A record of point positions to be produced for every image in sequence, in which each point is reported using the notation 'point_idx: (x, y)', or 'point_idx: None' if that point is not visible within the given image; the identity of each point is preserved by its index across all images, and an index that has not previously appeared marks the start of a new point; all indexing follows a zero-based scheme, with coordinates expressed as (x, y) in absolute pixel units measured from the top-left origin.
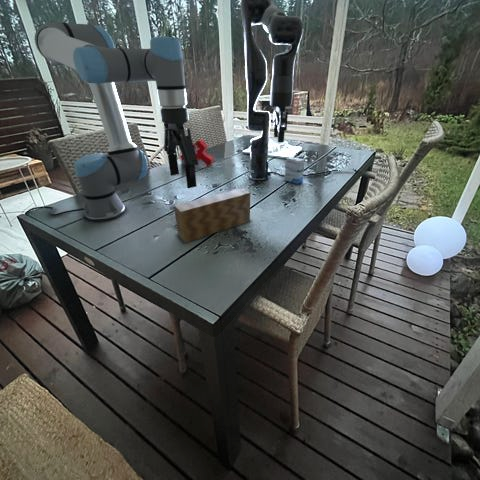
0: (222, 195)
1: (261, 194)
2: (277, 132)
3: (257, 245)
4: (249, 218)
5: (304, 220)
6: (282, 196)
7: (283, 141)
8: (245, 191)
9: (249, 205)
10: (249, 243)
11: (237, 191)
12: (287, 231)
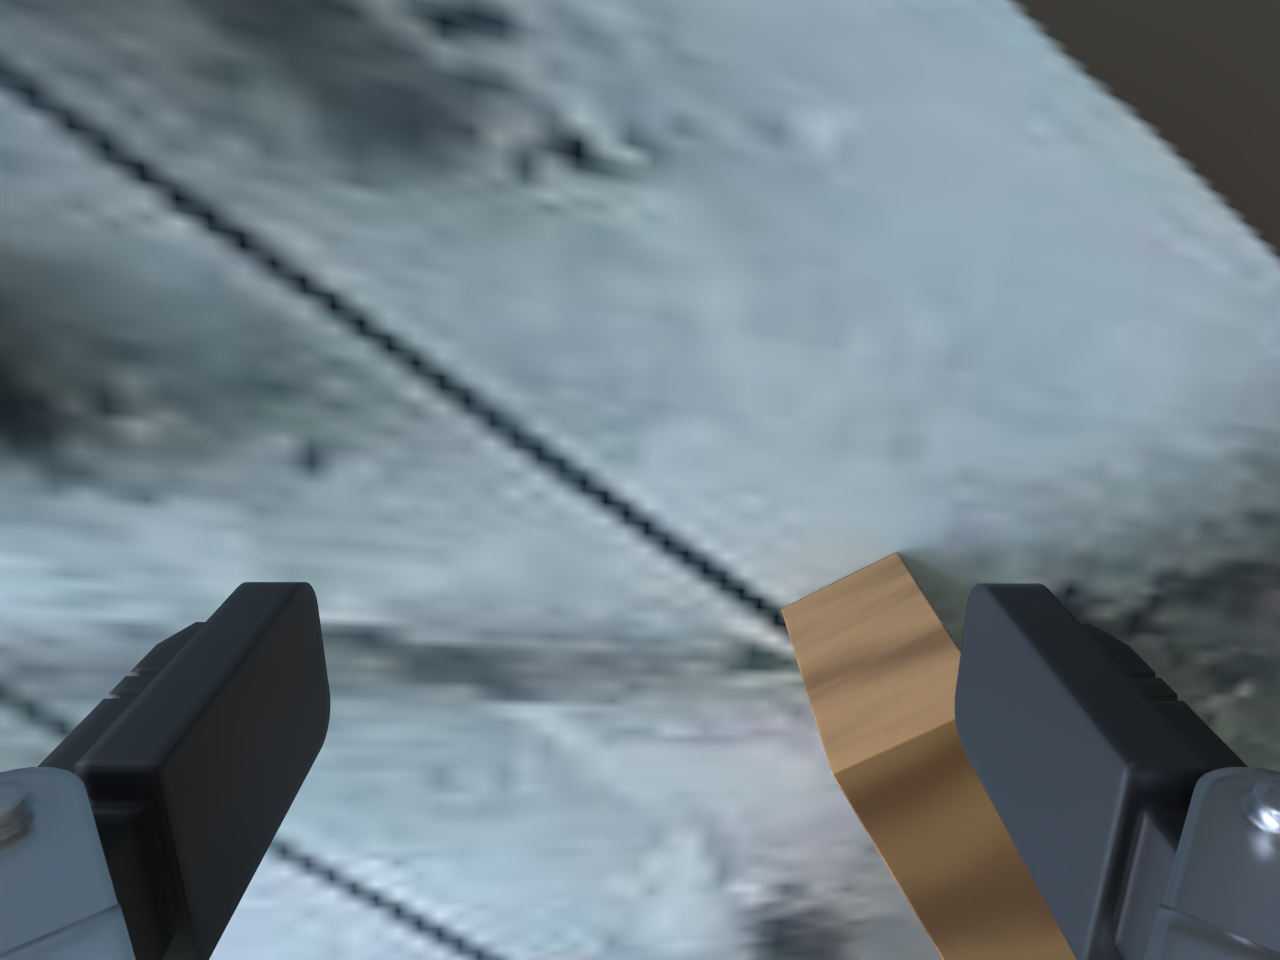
0: (1000, 939)
1: (305, 379)
2: (265, 717)
3: (1274, 531)
4: (907, 568)
5: (974, 27)
6: (354, 143)
7: (1034, 589)
8: (942, 743)
9: (948, 632)
10: (1229, 583)
11: (927, 815)
12: (1139, 257)
